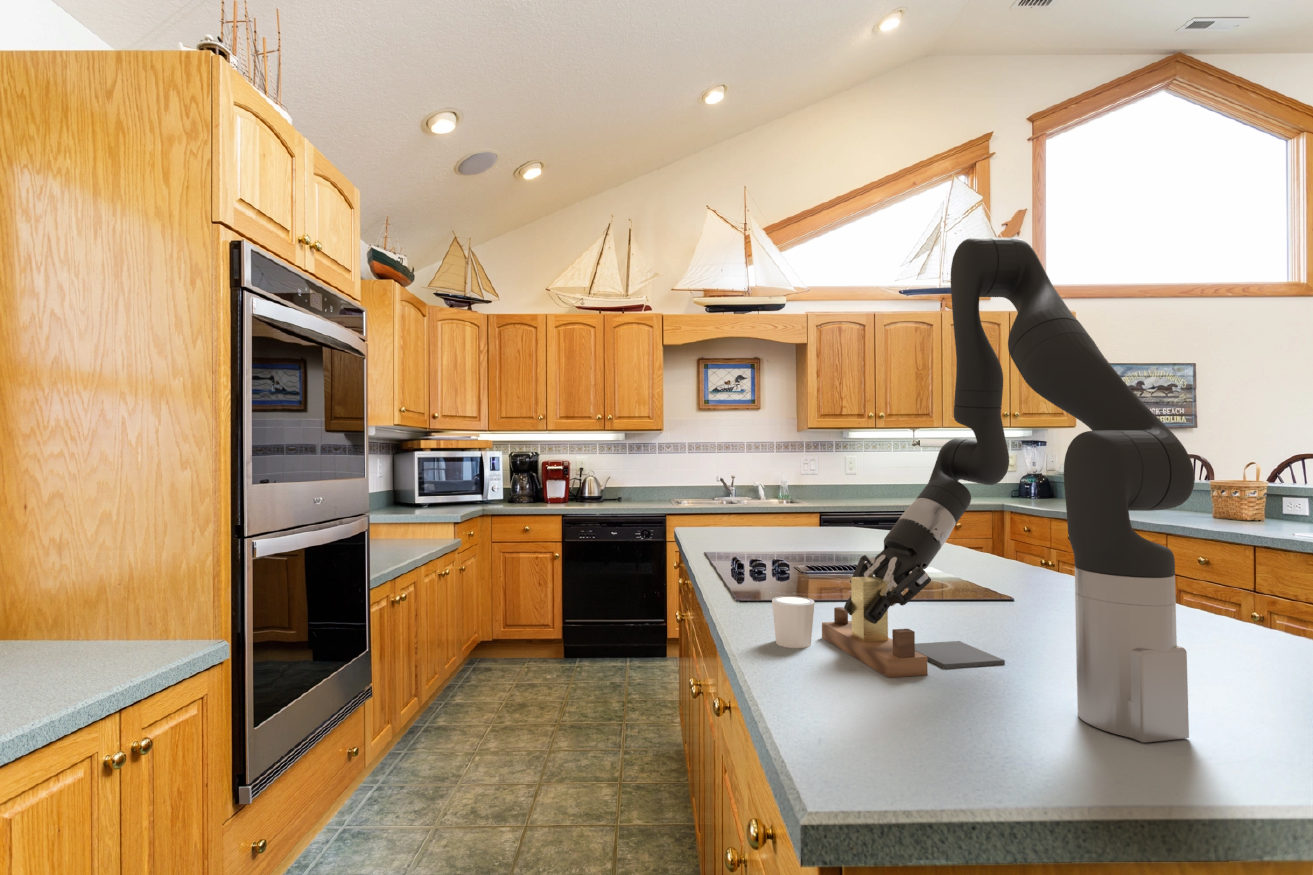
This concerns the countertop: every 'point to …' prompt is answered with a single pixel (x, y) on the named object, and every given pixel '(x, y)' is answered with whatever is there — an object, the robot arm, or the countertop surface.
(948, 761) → the countertop surface
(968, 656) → the mat
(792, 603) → the white cup
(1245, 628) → the countertop surface
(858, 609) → the pale wooden block
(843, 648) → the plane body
